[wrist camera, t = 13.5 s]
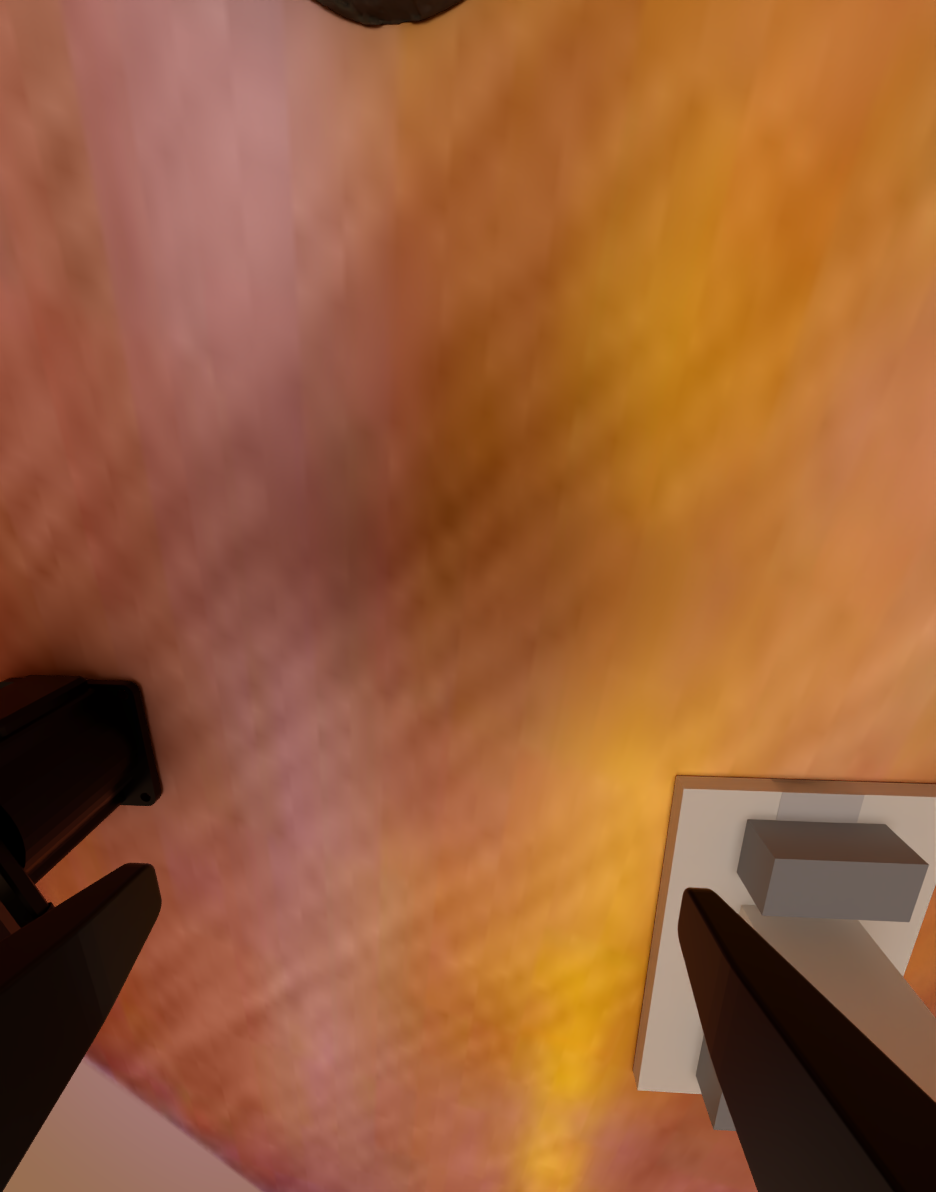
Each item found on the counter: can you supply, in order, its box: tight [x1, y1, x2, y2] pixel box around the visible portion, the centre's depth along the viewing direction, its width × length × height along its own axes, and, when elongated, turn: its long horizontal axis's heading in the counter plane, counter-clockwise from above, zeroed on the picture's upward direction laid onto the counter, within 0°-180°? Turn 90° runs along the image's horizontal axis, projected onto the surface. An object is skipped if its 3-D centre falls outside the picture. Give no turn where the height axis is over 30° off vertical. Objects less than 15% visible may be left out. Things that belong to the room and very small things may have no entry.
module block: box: [739, 905, 936, 1102], centre depth 18 cm, size 5×5×11 cm
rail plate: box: [633, 776, 936, 1131], centre depth 23 cm, size 20×12×3 cm, turn 0°
